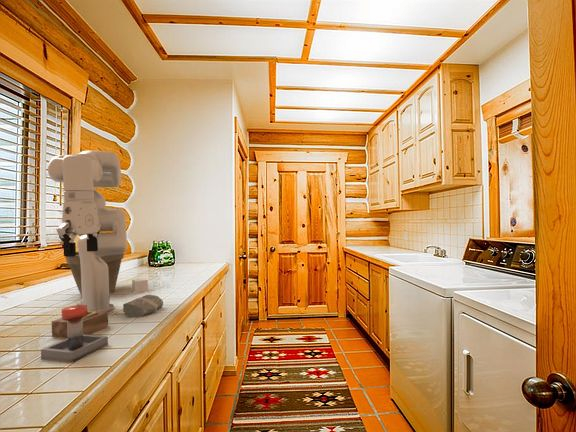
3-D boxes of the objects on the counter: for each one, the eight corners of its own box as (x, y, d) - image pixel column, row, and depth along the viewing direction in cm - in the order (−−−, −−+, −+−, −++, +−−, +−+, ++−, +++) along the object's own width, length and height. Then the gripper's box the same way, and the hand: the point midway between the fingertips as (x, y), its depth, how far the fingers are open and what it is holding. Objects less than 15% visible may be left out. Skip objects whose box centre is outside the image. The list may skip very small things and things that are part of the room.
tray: (41, 358, 83) (40, 349, 83) (78, 342, 93) (78, 333, 93) (73, 362, 80) (72, 352, 80) (108, 344, 91) (107, 336, 91)
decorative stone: (144, 307, 129) (144, 293, 129) (166, 307, 127) (166, 293, 127) (123, 317, 116) (122, 301, 116) (147, 318, 114) (147, 302, 114)
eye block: (52, 336, 99) (51, 319, 99) (83, 324, 109) (82, 308, 109) (79, 339, 96) (78, 321, 96) (108, 326, 106) (107, 310, 106)
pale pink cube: (148, 291, 158) (147, 279, 158) (135, 293, 154) (134, 281, 154) (145, 289, 162) (144, 277, 162) (132, 291, 159) (132, 279, 159)
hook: (65, 355, 82) (63, 312, 82) (60, 349, 87) (59, 308, 87) (90, 348, 87) (89, 307, 87) (85, 342, 91) (84, 303, 91)
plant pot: (81, 302, 139) (79, 255, 139) (58, 296, 153) (56, 253, 153) (134, 290, 160) (133, 248, 160) (110, 285, 174) (108, 247, 174)
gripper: (70, 196, 84) (73, 258, 85) (109, 197, 101) (111, 249, 102) (43, 196, 84) (46, 258, 85) (86, 198, 102) (88, 249, 102)
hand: (81, 253), depth 93 cm, fingers open, 9 cm apart
